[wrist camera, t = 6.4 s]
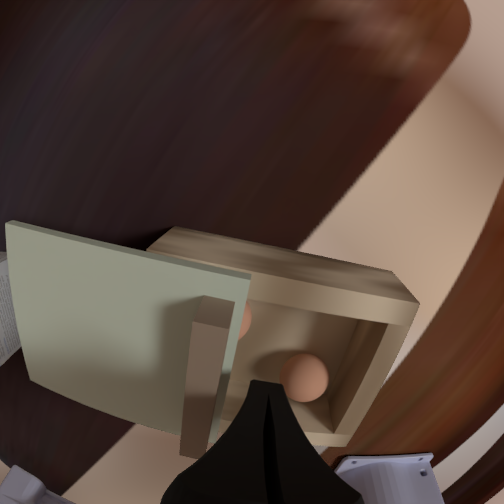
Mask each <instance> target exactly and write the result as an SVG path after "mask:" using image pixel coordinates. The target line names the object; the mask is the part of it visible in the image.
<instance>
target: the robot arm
mask: <svg viewBox="0 0 504 504" xmlns="http://www.w3.org/2000/svg"><path fill="white" fill-rule="evenodd" d="M432 458H433V454H432V453H423V454H410V455H393V456H347V457H345V458H343V459H342V461H341V462H340V464H339V465H338V466H337V468H336V469H335V470H334V471H333V470H332V469H331V468H330V467H329V466H328V465H327V463H326V462H325V461H324V460H323V459H322V458H321V456H320V455H319V454H318V453H317V451H316V450H315V449H314V447H313V446H312V444H311V443H310V441H309V440H308V438H307V437H306V435H305V433H304V432H303V430H302V428H301V426H300V424H299V423H298V421H297V418H296V416H295V414H294V412H293V410H292V408H291V405H290V403H289V401H288V398H287V395H286V393H285V390H284V386H283V385H282V384H279V383H273V382H267V381H261V380H255V379H253V380H251V381H250V384H249V388H248V392H247V396H246V398H245V400H244V402H243V404H242V406H241V408H240V410H239V412H238V413H237V415H236V417H235V418H234V420H233V421H232V423H231V424H230V426H229V427H228V428H227V430H226V431H225V432H224V434H223V435H222V436H221V437H220V438H219V440H218V441H217V442H216V443H215V444H214V445H213V446H212V447H211V448H210V449H209V450H208V451H207V452H206V453H205V454H204V455H203V456H202V457H201V458H199V459H198V460H197V461H196V462H195V463H194V464H193V465H191V466H190V467H188V468H187V469H186V470H184V471H183V472H182V473H180V474H179V475H178V476H177V477H176V478H175V479H174V481H173V482H172V483H171V485H170V486H169V487H168V488H167V490H166V491H165V493H164V495H163V497H162V499H161V503H160V504H444V501H443V498H442V495H441V492H440V490H439V487H438V484H437V481H436V479H435V476H434V473H433V471H432V468H431V465H430V462H429V461H430V460H431V459H432ZM0 504H75V503H73V502H71V501H69V500H67V499H65V498H63V497H61V496H59V495H57V494H55V493H53V492H51V491H49V490H47V489H46V487H45V485H44V484H43V482H42V481H41V480H39V479H38V478H37V477H35V476H33V475H32V474H30V473H28V472H27V471H25V470H23V469H22V468H20V467H18V466H17V465H13V467H12V468H11V470H10V471H9V473H8V474H7V476H6V477H5V479H4V480H3V482H2V484H1V485H0Z"/></svg>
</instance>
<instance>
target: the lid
mask: <svg viewBox="0 0 504 504" xmlns="http://www.w3.org/2000/svg"><path fill="white" fill-rule="evenodd" d="M5 228H6V247H7V259H8V270H9V278H10V286H11V294H12V300H13V306H14V312H15V318H16V323H17V328H18V333H19V338H20V342H21V346H22V351H23V355H24V359H25V363H26V366H27V370H28V374H29V377H30V380H32V381H34V382H36V383H38V384H40V385H42V386H44V387H46V388H48V389H50V390H52V391H54V392H57V393H59V394H61V395H63V396H65V397H68V398H70V399H72V400H75V401H77V402H80V403H82V404H84V405H87V406H89V407H92V408H95V409H97V410H100V411H103V412H105V413H108V414H111V415H114V416H116V417H119V418H122V419H125V420H128V421H131V422H134V423H137V424H141V425H144V426H147V427H151V428H154V429H158V430H161V431H165V432H169V433H172V434H176V435H180V436H181V440H180V455H182V456H186V457H190V458H195V459H199V458H201V457H202V456H203V455H204V454H205V453H206V449H207V444H208V442H210V443H216V438H217V434H218V430H219V425H220V421H221V416H222V411H223V407H224V402H225V398H226V393H227V388H228V384H229V379H230V374H231V370H232V365H233V360H234V356H235V351H236V346H237V342H238V337H239V332H240V328H241V323H242V318H243V314H244V309H245V304H246V300H247V295H248V290H249V285H250V281H251V275H252V274H249V273H244V272H239V271H234V270H229V269H224V268H220V267H215V266H210V265H206V264H201V263H196V262H191V261H187V260H182V259H178V258H173V257H168V256H164V255H159V254H155V253H150V252H146V251H141V250H137V249H132V248H128V247H124V246H119V245H115V244H110V243H106V242H102V241H97V240H93V239H89V238H85V237H80V236H76V235H72V234H68V233H63V232H59V231H55V230H51V229H47V228H43V227H39V226H35V225H31V224H26V223H22V222H18V221H14V220H12V221H9V222H7V223H5Z"/></svg>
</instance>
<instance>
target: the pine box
mask: <svg viewBox="0 0 504 504" xmlns="http://www.w3.org/2000/svg"><path fill="white" fill-rule="evenodd" d="M146 252H150V253H155V254H159V255H164V256H168V257H173V258H178V259H182V260H187V261H191V262H196V263H201V264H206V265H210V266H215V267H220V268H224V269H229V270H234V271H239V272H244V273H249V274H252V275H251V281H250V285H249V290H248V295H247V302H248V303H249V305H250V308H251V313H252V320H251V324H250V327H249V329H248V331H247V333H246V334H245V335H244V336H243V337H242V338H241V339H239V340H238V342H237V346H236V351H235V356H234V360H233V365H232V370H231V374H230V379H229V384H228V388H227V393H226V398H225V402H224V407H223V411H222V416H221V421H220V425H219V430H218V432H221V433H224V432H225V431H226V430H227V428H228V427H229V426H230V424H231V423H232V421H233V420H234V418H235V417H236V415H237V413H238V412H239V410H240V408H241V406H242V404H243V402H244V400H245V398H246V396H247V392H248V388H249V384H250V381H251V380H253V379H255V380H261V381H267V382H273V383H279V384H280V380H279V377H280V371H281V369H282V367H283V365H284V364H285V362H286V361H287V360H289V359H290V358H291V357H293V356H295V355H298V354H312V355H315V356H317V357H319V358H320V359H321V360H323V361H324V363H325V364H326V366H327V368H328V370H329V384H328V386H327V388H326V390H325V392H324V393H323V394H322V395H321V396H320V397H318V398H317V399H315V400H312V401H309V402H298V401H295V400H293V399H291V398H289V397H288V396H287V398H288V401H289V403H290V405H291V408H292V410H293V412H294V414H295V416H296V418H297V421H298V423H299V424H300V426H301V428H302V430H303V432H304V433H305V435H306V437H307V438H308V440H309V441H310V443H311V444H312V445H319V446H335V447H345V446H346V445H347V443H348V442H349V440H350V439H351V437H352V436H353V434H354V432H355V431H356V429H357V428H358V426H359V424H360V423H361V421H362V419H363V418H364V416H365V414H366V413H367V411H368V409H369V408H370V406H371V404H372V402H373V401H374V399H375V397H376V395H377V393H378V392H379V390H380V388H381V386H382V384H383V382H384V380H385V379H386V377H387V375H388V373H389V371H390V369H391V367H392V365H393V363H394V361H395V359H396V357H397V355H398V353H399V351H400V348H401V346H402V344H403V342H404V340H405V338H406V336H407V333H408V331H409V329H410V326H411V324H412V322H413V320H414V317H415V315H416V313H417V310H418V308H419V305H420V303H419V302H418V301H417V299H416V298H415V297H414V296H413V295H412V293H410V291H409V290H408V289H407V288H406V287H405V285H404V284H403V283H402V282H401V281H400V280H399V279H398V278H397V276H395V274H394V273H393V272H392V271H388V270H383V269H379V268H374V267H370V266H364V265H360V264H355V263H351V262H346V261H341V260H337V259H332V258H328V257H323V256H318V255H313V254H309V253H304V252H299V251H294V250H289V249H285V248H280V247H275V246H270V245H265V244H260V243H256V242H251V241H246V240H241V239H236V238H231V237H226V236H221V235H216V234H212V233H207V232H202V231H197V230H192V229H187V228H182V227H177V226H174V227H173V228H171V229H170V230H169V231H168V232H166V233H165V234H164V235H163V236H162V237H160V238H159V239H158V240H157V241H156V242H154V243H153V244H152V245H151V246H150V247H148V248H147V251H146Z"/></svg>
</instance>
